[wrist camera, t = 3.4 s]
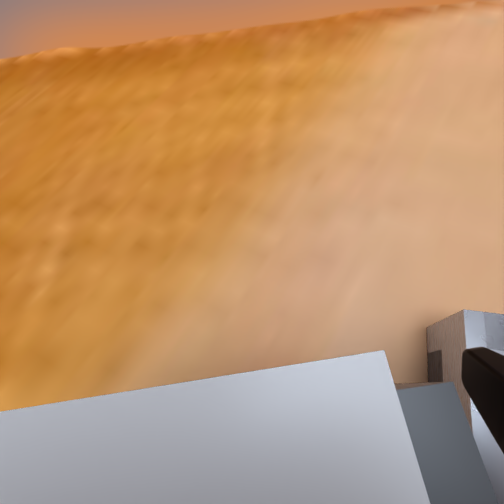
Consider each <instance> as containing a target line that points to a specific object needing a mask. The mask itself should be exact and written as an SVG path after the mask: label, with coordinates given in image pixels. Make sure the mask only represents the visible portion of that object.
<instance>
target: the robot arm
mask: <svg viewBox="0 0 504 504" xmlns="http://www.w3.org/2000/svg"><path fill="white" fill-rule="evenodd" d="M461 379H462V383H463V386H464V388H465V390H466V391H467V393H468V395H469V396H470V398H471V400H472V402H473V403H474V405H475V407H476V408H477V410H478V412H479V413H480V415H481V417H482V419H483V420H484V422H485V424H486V425H487V427H488V429H489V431H490V432H491V434H492V436H493V437H494V439H495V441H496V443H497V444H498V446H499V447H500V449H501V451H502V452H503V454H504V355H502V354H499V353H497V352H495V351H493V350H490V349H488V348H486V347H475V348H468V349H465V350H464V351H463V353H462V367H461Z"/></svg>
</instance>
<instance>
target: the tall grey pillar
mask: <svg viewBox="0 0 504 504" xmlns="http://www.w3.org/2000/svg"><path fill="white" fill-rule="evenodd" d="M0 504H499V503H498V501H497V498H496V495H495V493H494V490H493V487H492V485H491V482H490V479H489V476H488V474H487V471H486V468H485V466H484V463H483V460H482V458H481V455H480V452H479V450H478V447H477V444H476V442H475V439H474V436H473V434H472V431H471V428H470V426H469V423H468V420H467V418H466V415H465V412H464V409H463V407H462V404H461V401H460V399H459V396H458V393H457V391H456V388H455V385H454V383H453V382H429V383H405V384H394V381H393V378H392V375H391V371H390V368H389V365H388V361H387V358H386V355H385V351H384V350H382V351H376V352H369V353H363V354H357V355H351V356H344V357H338V358H332V359H326V360H320V361H313V362H307V363H301V364H295V365H288V366H282V367H276V368H270V369H264V370H257V371H251V372H245V373H239V374H232V375H226V376H220V377H214V378H208V379H201V380H195V381H189V382H183V383H177V384H170V385H164V386H158V387H152V388H145V389H139V390H133V391H127V392H121V393H114V394H108V395H102V396H96V397H89V398H83V399H77V400H71V401H65V402H58V403H52V404H46V405H40V406H33V407H27V408H21V409H15V410H9V411H2V412H0Z"/></svg>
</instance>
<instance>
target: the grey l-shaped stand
mask: <svg viewBox="0 0 504 504" xmlns="http://www.w3.org/2000/svg"><path fill="white" fill-rule="evenodd" d="M475 347H486V348H488V349H490V350H493V351H495V352H497V353H499V354H502V355H504V314H496V313H488V312H480V311H472V310H461V311H459V312H457V313H455V314H453V315H451V316H449V317H447V318H445V319H443V320H441V321H439V322H437V323H435V324H433V325H431V326H429V327H427V351H428V383H429V382H453V383H454V385H455V388H456V391H457V393H458V396H459V399H460V401H461V404H462V407H463V409H464V412H465V415H466V418H467V420H468V423H469V426H470V428H471V431H472V434H473V436H474V439H475V442H476V444H477V447H478V450H479V452H480V455H481V458H482V460H483V463H484V466H485V468H486V471H487V474H488V476H489V479H490V482H491V485H492V487H493V490H494V493H495V495H496V498H497V501H498V503H499V504H504V454H503V452H502V451H501V449H500V447H499V446H498V444H497V443H496V441H495V439H494V437H493V436H492V434H491V432H490V431H489V429H488V427H487V425H486V424H485V422H484V420H483V419H482V417H481V415H480V413H479V412H478V410H477V408H476V407H475V405H474V403H473V402H472V400H471V398H470V396H469V395H468V393H467V391H466V390H465V388H464V386H463V383H462V379H461V367H462V353H463V351H464V350H465V349H468V348H475Z"/></svg>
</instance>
